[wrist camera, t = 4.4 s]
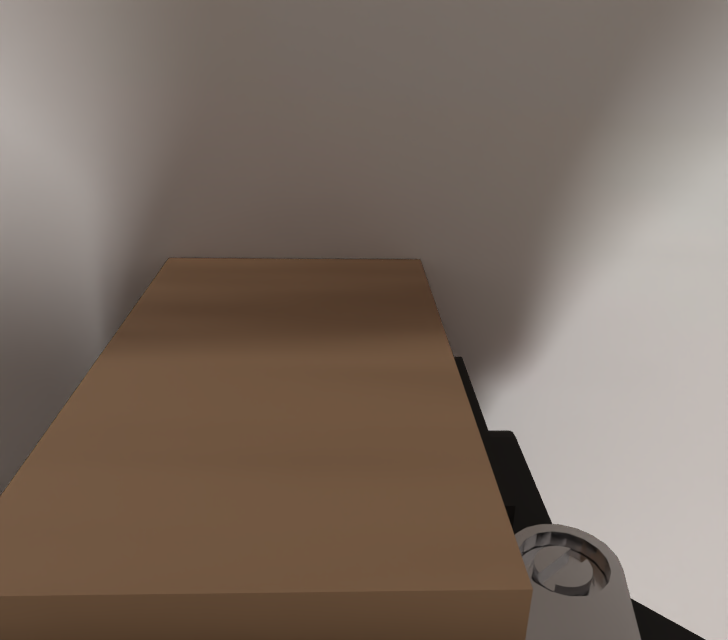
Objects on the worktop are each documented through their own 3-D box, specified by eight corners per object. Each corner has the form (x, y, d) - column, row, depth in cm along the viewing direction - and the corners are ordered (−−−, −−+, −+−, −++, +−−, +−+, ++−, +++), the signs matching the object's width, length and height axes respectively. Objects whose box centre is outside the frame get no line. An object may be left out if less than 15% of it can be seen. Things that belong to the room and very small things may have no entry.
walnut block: (168, 257, 11) (-71, 597, 5) (420, 259, 11) (532, 588, 5) (198, 554, 13) (69, 1050, 7) (404, 551, 13) (465, 1035, 7)
